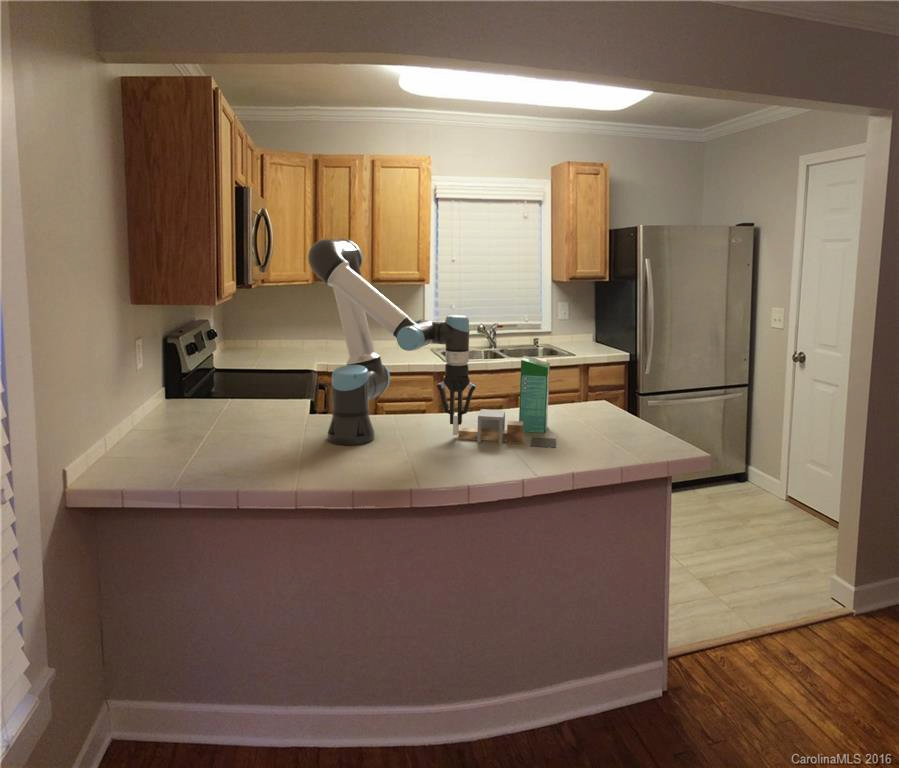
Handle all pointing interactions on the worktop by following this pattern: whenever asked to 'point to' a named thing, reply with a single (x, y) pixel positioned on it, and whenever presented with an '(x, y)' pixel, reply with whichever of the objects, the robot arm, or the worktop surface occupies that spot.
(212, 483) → the worktop surface
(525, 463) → the worktop surface
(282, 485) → the worktop surface
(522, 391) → the milk carton
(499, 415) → the tunnel
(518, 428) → the block
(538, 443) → the mat
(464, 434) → the tan long bar
